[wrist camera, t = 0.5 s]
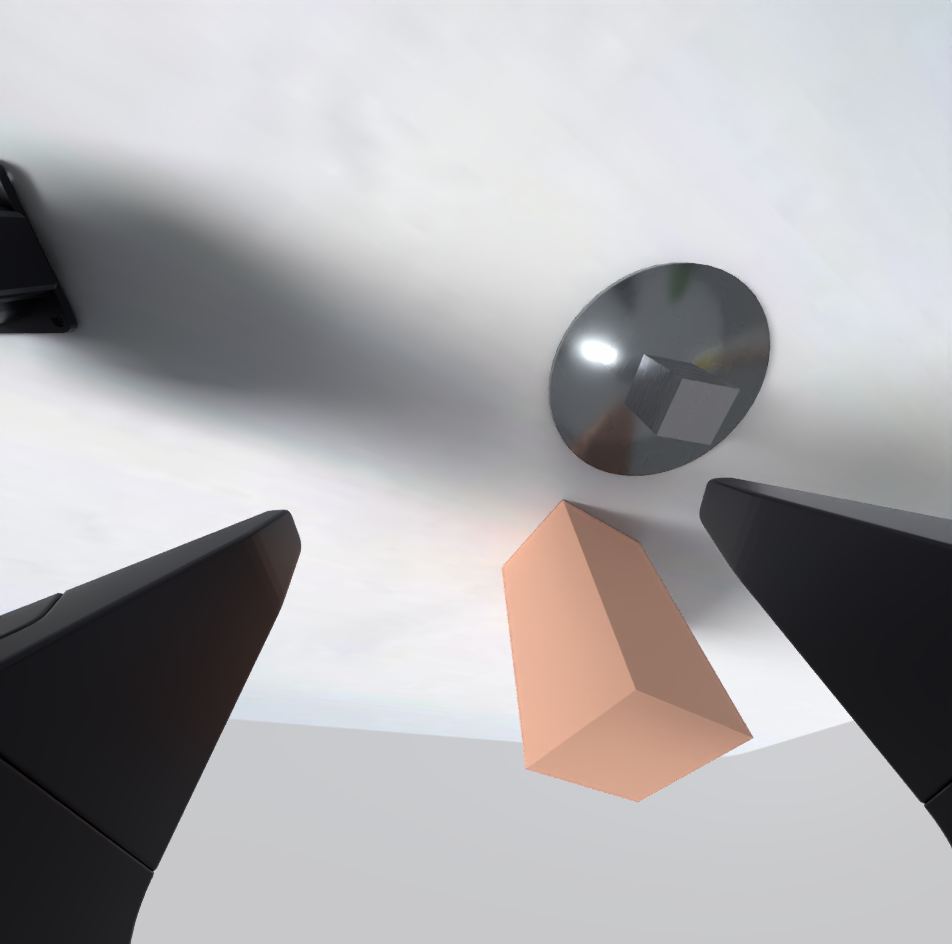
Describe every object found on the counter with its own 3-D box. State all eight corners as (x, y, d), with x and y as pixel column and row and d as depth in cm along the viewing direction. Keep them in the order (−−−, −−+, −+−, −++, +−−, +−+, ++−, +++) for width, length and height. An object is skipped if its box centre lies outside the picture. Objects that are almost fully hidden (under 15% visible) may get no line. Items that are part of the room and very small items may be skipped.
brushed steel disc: (525, 455, 23) (538, 500, 19) (588, 238, 18) (624, 238, 14) (700, 483, 24) (745, 530, 20) (808, 289, 19) (898, 302, 15)
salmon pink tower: (501, 567, 27) (525, 768, 17) (562, 499, 25) (636, 689, 14) (575, 602, 29) (637, 802, 19) (639, 543, 27) (753, 737, 16)
